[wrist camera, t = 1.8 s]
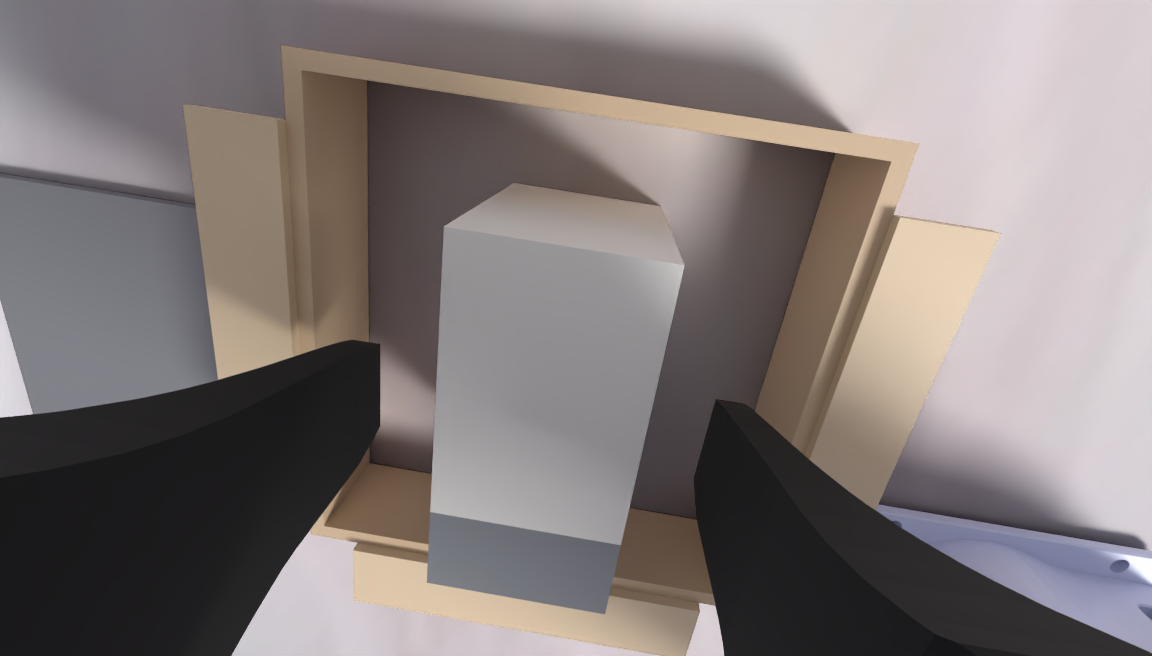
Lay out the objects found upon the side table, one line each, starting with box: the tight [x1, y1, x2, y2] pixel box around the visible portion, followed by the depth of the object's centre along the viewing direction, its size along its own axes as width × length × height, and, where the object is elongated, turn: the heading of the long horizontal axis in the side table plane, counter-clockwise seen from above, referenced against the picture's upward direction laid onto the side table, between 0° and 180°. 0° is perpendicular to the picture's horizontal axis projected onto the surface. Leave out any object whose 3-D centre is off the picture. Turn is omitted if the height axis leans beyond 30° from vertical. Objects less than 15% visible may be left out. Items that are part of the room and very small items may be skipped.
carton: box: [183, 45, 1001, 656], centre depth 15 cm, size 17×15×3 cm
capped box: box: [427, 183, 685, 614], centre depth 13 cm, size 4×8×6 cm, turn 172°
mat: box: [0, 173, 218, 414], centre depth 17 cm, size 9×11×1 cm
